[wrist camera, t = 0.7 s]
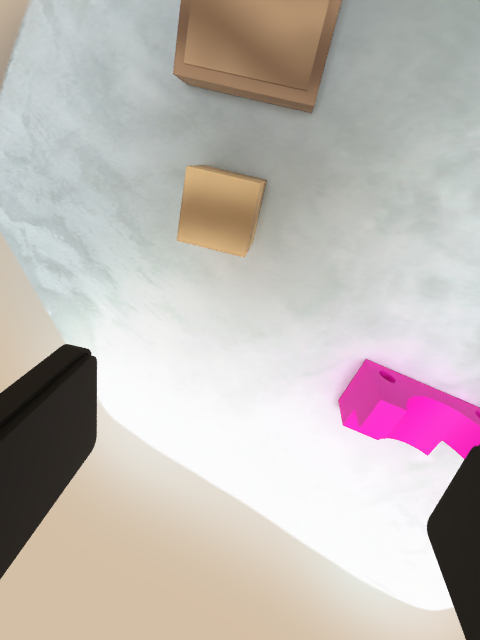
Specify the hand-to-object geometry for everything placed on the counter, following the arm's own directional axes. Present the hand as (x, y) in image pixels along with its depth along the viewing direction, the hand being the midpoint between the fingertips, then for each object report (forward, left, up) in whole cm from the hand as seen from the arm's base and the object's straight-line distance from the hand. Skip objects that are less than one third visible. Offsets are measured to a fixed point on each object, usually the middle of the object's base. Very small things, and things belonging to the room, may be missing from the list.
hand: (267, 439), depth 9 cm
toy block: (+15, +19, -29) cm, 37 cm away
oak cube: (-1, -6, -28) cm, 29 cm away
